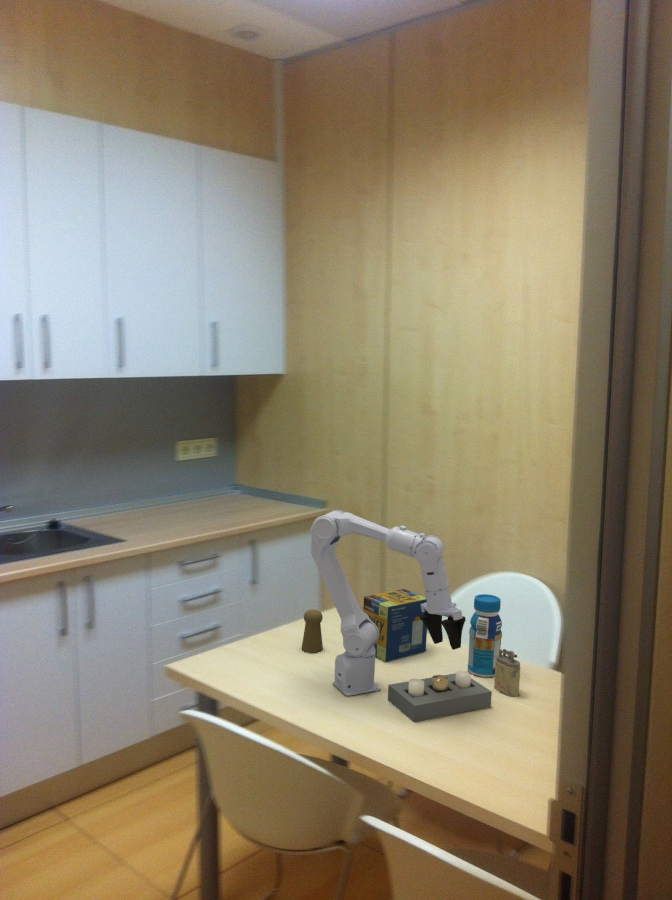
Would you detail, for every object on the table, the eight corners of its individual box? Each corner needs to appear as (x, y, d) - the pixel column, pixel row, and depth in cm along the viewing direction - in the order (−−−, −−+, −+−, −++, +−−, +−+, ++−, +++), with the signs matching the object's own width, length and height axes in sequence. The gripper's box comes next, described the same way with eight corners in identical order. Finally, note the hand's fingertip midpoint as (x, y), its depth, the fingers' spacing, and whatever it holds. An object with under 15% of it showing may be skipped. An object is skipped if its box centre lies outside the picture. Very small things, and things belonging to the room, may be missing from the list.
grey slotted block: (413, 722, 169) (414, 705, 169) (387, 700, 180) (388, 684, 179) (490, 707, 178) (491, 691, 178) (461, 686, 189) (462, 672, 188)
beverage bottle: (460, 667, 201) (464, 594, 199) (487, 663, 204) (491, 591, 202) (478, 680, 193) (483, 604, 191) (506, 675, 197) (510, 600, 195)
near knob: (413, 704, 174) (413, 686, 173) (405, 697, 177) (405, 680, 176) (426, 701, 175) (427, 683, 175) (418, 695, 178) (419, 677, 178)
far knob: (460, 695, 179) (461, 677, 179) (451, 689, 182) (452, 672, 182) (473, 693, 181) (474, 675, 180) (464, 687, 184) (465, 670, 183)
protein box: (360, 650, 211) (362, 596, 209) (402, 640, 220) (404, 588, 218) (385, 663, 203) (387, 606, 201) (427, 651, 212) (429, 597, 210)
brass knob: (437, 699, 176) (438, 681, 176) (428, 693, 180) (429, 676, 179) (450, 697, 178) (451, 679, 177) (441, 691, 181) (442, 673, 181)
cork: (322, 653, 207) (323, 614, 206) (300, 653, 208) (301, 614, 206) (323, 645, 213) (324, 607, 212) (301, 645, 214) (303, 607, 212)
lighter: (521, 695, 185) (524, 655, 184) (510, 698, 183) (513, 658, 182) (500, 684, 191) (503, 646, 190) (489, 687, 189) (492, 648, 188)
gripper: (468, 587, 172) (479, 645, 173) (434, 581, 185) (444, 635, 186) (442, 595, 169) (453, 654, 170) (409, 588, 182) (420, 643, 183)
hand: (447, 645), depth 177 cm, fingers open, 7 cm apart
